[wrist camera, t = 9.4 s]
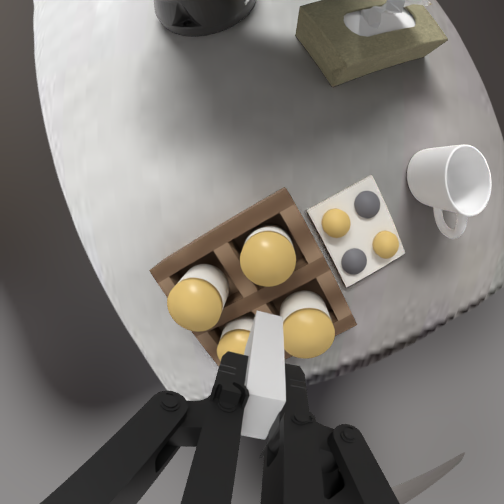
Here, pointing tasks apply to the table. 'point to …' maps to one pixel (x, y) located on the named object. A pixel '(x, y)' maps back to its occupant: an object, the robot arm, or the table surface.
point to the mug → (450, 183)
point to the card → (357, 230)
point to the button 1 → (199, 298)
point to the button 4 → (306, 325)
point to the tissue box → (366, 35)
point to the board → (240, 287)
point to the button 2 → (235, 335)
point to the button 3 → (268, 255)
